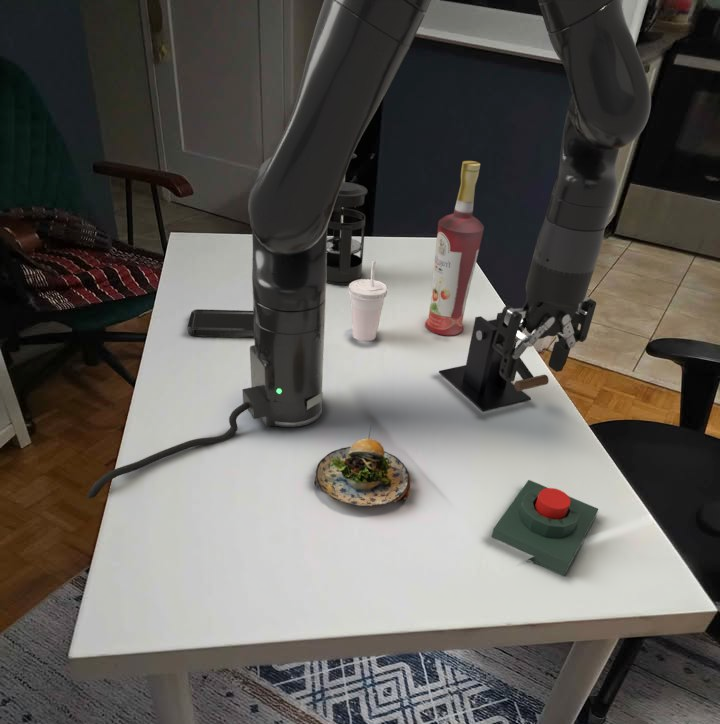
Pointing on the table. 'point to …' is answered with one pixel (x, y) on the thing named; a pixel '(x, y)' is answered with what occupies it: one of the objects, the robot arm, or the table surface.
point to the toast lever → (525, 372)
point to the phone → (221, 323)
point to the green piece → (544, 529)
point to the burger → (363, 475)
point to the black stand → (484, 372)
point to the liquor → (455, 258)
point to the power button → (552, 503)
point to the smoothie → (366, 306)
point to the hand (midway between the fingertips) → (531, 374)
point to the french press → (346, 236)
